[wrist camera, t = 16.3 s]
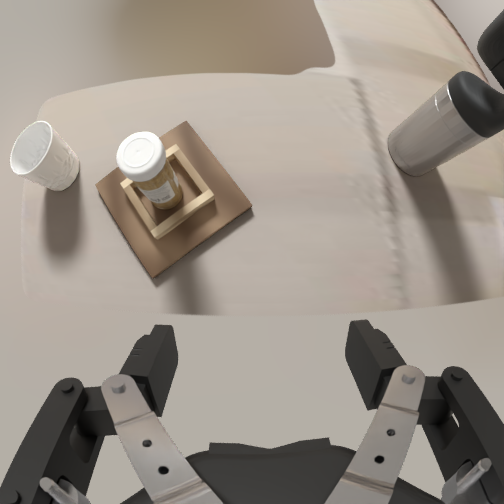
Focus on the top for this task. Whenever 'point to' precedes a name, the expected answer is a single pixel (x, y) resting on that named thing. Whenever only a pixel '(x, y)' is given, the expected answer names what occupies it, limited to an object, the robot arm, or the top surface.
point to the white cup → (44, 157)
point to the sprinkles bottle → (149, 169)
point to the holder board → (185, 212)
